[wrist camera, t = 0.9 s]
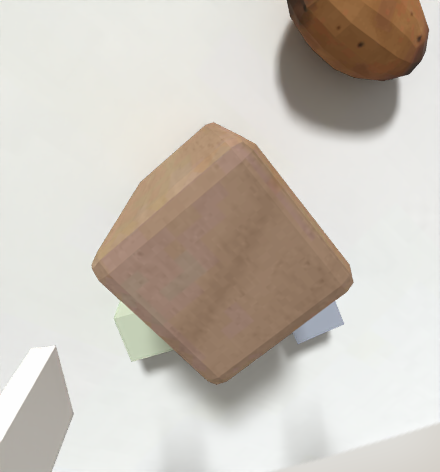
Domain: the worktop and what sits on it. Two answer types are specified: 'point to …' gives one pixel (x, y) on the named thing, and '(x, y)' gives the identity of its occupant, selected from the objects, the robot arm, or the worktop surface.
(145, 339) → the sage cube
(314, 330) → the slate cube
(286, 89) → the worktop surface
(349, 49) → the potato
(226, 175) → the wooden block
